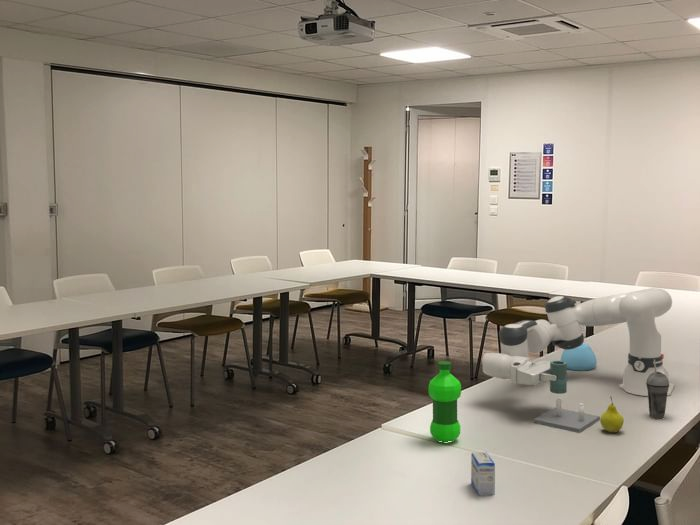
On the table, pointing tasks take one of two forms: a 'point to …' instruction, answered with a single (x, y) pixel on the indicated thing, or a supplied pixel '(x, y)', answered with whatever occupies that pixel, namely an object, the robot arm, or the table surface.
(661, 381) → the beverage cup
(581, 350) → the sugar bowl
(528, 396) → the table surface
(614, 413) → the fruit
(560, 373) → the sleeve
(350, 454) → the table surface
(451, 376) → the plastic bottle
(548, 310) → the robot arm
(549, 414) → the pin board
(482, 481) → the medicine box
